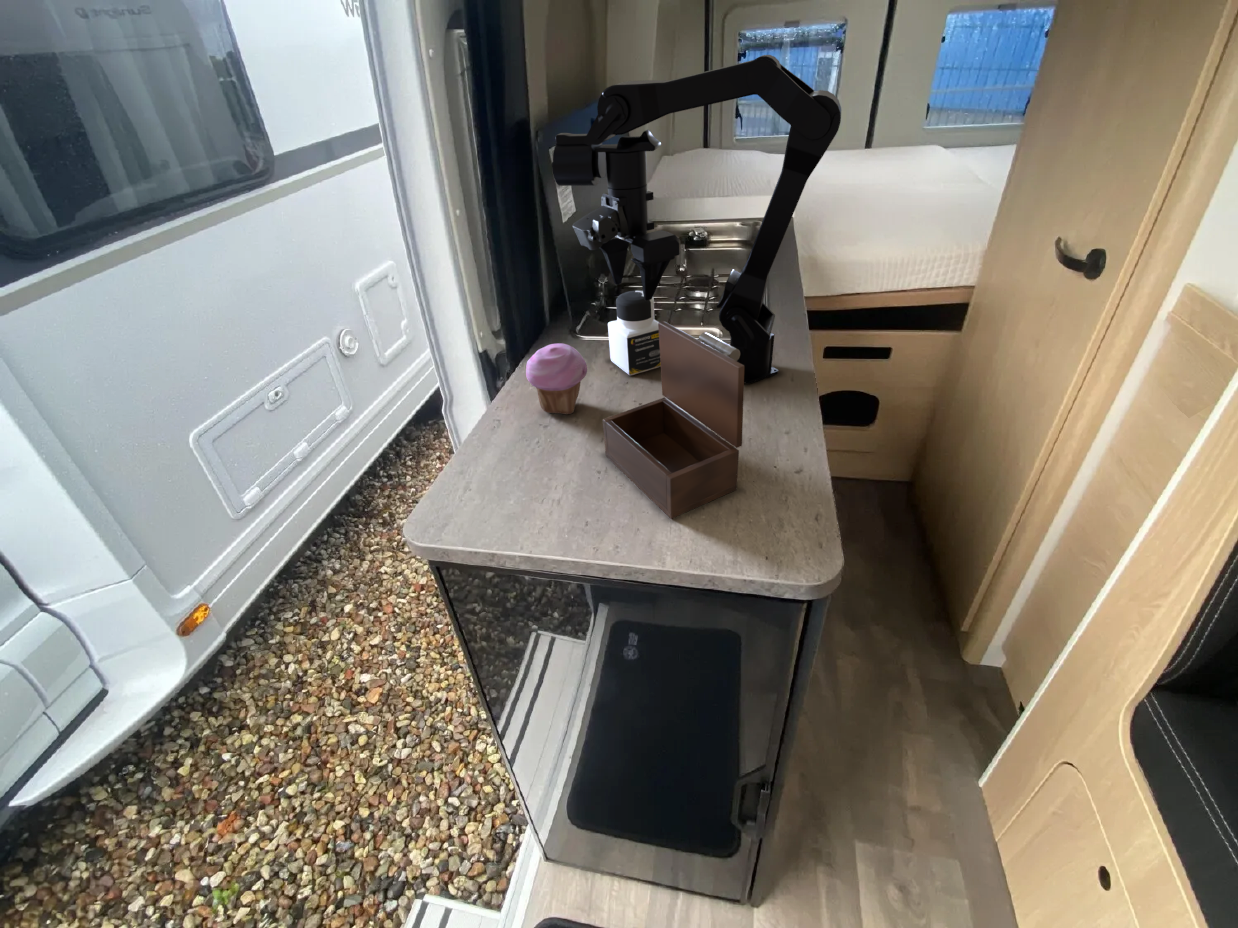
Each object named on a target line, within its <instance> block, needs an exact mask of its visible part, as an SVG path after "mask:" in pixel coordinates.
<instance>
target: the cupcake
mask: <svg viewBox="0 0 1238 928" xmlns="http://www.w3.org/2000/svg"><path fill="white" fill-rule="evenodd" d="M525 366H526V367H525V376H526V379H527V381H528V382H529V384H531V386H532V387H534V388H535V389H536V392H537V397H538V401H539V402H538V403H539V405H540V408H541V410H543V412H545V413H549V414H563V415H572V414H573V413H574V412H575V407H576V403H577V400H578V397H579V394H580V389H581V381H582V380H584V378H586V376H587V374H588V366H587V362H586V360H585V359H584V357H583V355H582V354H581V353H580V352H579V351H578V350H577V349H576V348H575V347H573V346H572V345H569V344H567V343H560V342H559V343H551V344H548V345H545V346H544V347H542V348H539V349H538V350H536V351H535V352H534V354H532V355H531V357H530V358H529V359H528V360H527V362H526V365H525Z"/></svg>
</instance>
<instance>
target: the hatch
mask: <svg viewBox="0 0 1238 928" xmlns="http://www.w3.org/2000/svg"><path fill="white" fill-rule="evenodd" d="M658 329H659V346H660V363H661V367H660V376H661V377H660V379H661V394H662V396H663V397H665V398H666V399H667V400H669V401H670V402H672V403H673V404H675V405H676V406H677V407H679V408H680V409H682V410H683V411H684V412H686V413H687V414H688V415H690V416H691V417H693V418H694V419H695V420H697V421H698V422H700V423H701V424H702V425H704V426H705V427H707V428H708V429H709V430H711V431H712V432H714V433H715V434H716V435H718V436H719V437H721V438H722V439H723V440H725V441H726V442H728V443H729V444H730V445H732V446H733V447H734V448H736V449H738V448H740V447H743V425H744V421H743V420H744V419H743V418H744V397H745V396H744V395H745V394H744V393H745V392H744V391H745V383H744V365H742V364H740V363H739V362H737V360H738V359H739V357H740V351H739V350H738V349H736V348H734V347H733V346H731V345H730V343H729V344H728V343H727V342H725V341H724V340H722V339H719V338H718V337H715V336H714V335H712V334H710V333H708V332H702V333H701V334H700V335H699V337H698V338H696V337H694V336H692V335H690V334H688V333H686V332H685V331H683V330H681V329H679V328H678V327H675V325H674V326H673V325H672V324H670V323H668V322H666V321H665V320H661V321H658Z"/></svg>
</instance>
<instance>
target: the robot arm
mask: <svg viewBox="0 0 1238 928" xmlns="http://www.w3.org/2000/svg"><path fill="white" fill-rule="evenodd" d="M755 95H756V96H758V97H759V98H760V99H762V100H763V101H764V102H765V103H766V104H767V105H768V106H769V107H770V108H771V109H772V110H773V111H774V112H775V113H776V114H777V115H778V116H779V117H780V118H781V119H782V120H784V121H785V123H787V124H788V125H790V127H789V132H788V137H787V141H786V146H785V151H784V156H783V163H782V168H781V172H780V174H779V177H778V179H777V182H776V185H775V187H774V190H773V193H772V195H771V198H770V200H769V203H768V206H767V208H766V211H765V213H764V216H763V218H762V221H761V223H760V226H759V229H758V231H757V234H756V237H755V239H754V242H753V244H752V246H751V249H750V252H749V255H748V258H747V259H746V262H745V264H744V266H742V269H741V271H738V270H735V269H734V268H732V269H731V270H730V273H729V274H728V277H727V279H726V282H725V285H724V288H723V291H722V294H721V296H720V298H719V300H718V302H717V305H716V308H717V309H720V310H719V313H718V321H719V322H720V324H721V326H722V327H723V328H724V330H726V331H727V332H728V333H729V336H730V339H729V342H730V343H729V345H731V346H733V347H734V348H736V349H738V350H739V351H740V357H739V359H738V360H737V362H739V363H740V364H742V365H744V384H746V385H750V384H753V383H756V382H758V381H761V380H764V379H766V378H770V377H772V376H775V375H778V374H779V369H778V368H775V367H774V366H773V355H774V344H775V333H773V332H772V331H773V326H774V322H775V318H776V314H775V312H773V311H772V310H771V309H770V307H768V305H767V304H766V303H764V297H765V294H766V289H767V283H768V278H769V274H770V271H771V269H772V267H773V264H774V261H775V259H776V257H777V254H778V252H779V249H780V247H781V244H782V242H783V239H784V237H785V235H786V233H787V230H788V228H789V225H790V223H791V220H792V218H793V217H794V214H795V211H796V209H797V206H798V205H799V204H798V203H799V201H800V199H801V196H802V194H803V192H804V189H805V187H806V185H807V182H808V180H809V178H810V177H811V175H812V174H813V172H814V170H815V169H816V168H817V166H818V164H819V163H820V162H821V160H822V158H823V157H824V155H825V154H826V152H827V150H828V148H829V147H830V145H831V144H832V142H833V140H834V139H835V137H836V136H837V134H838V132H839V128H840V126H841V119H842V106H841V103H840V100H839V98H837V96H836V95H835V93H832V92H831V91H829V90H823V89H819V90H814V88H812V87H811V86H810V85H809V84H807V83H806V82H805V81H804V80H802V79H801V78H800V77H799V76H797V75H795V74H794V73H793V72H791V71H790V69H787V68H786V67H785V66H783V64H782V63H781V62H780V60H779V59H778V58H777V57H776V56H775V55H772V54H762V55H760V56H758V57H756V58H754V59H751V60H748V61H743V62H740V63H735V64H730V65H727V66H722V67H718V68H715V69H711V70H707V71H702V72H699V73H695V74H691V75H686V76H682V77H678V78H674V79H667V80H656V79H655V80H654V79H652V80H651V79H650V80H649V79H645V80H626V81H623V82H619V83H615V84H612V85H610V86H608V87H606V88H605V89H604V90H602V91H601V93H600V96H599V98H598V102H597V107H596V109H597V115H596V117H595V118H594V121H593V122H592V125H591V126H590V128H589V129H588V132H587V133H570V132H560V133H558V134H556V135H555V136H554V137H555V138H554V139H555V145H554V149H553V153H552V162H551V171H552V175H553V179H554V182H555V183H556V185H558V187H571V186H573V187H574V186H575V187H576V186H577V187H579V186H581V187H582V186H585V187H586V186H591V187H593V186H596V187H597V186H598V184H599V183H600V181H601V179H604V178H605V176H606V183H607V186H606V187H607V192H604V193H602V196H601V198H600V202H601V203H600V204H601V205H600V206H599V207H598V208H596V209H593V210H591V211H590V212H589V213H586V214H585V215H584V216H582V217H581V218H579V219H578V220H576V221H574V222H573V224H572V229H573V230H574V233H575V235H576V237H577V239H578V242H579V244H580V246H582V247H586V248H588V250H590V251H596V250H598V249H599V250H600V251H602V253H603V256H604V259H605V261H606V264H607V267H608V270H609V272H610V275H611V277H612V278H611V279H612V281H613V284H614V285H616V286H618V285H621V284H622V283H623V280H624V279H623V278H624V274H625V268H626V262H627V258H628V257H627V256H628V250H629V245H630V252H631V254H632V256H633V258H631V261H632V263H633V264H635V265H636V266H637V267H638V268H639V272H640V274H639V275H640V280H641V288H642V291H643V294H644V299H645V300H646V301H647V300H651V299H652V297H654V295H655V292H656V291H657V288H658V286H659V283H660V281H661V279H662V277H663V275H664V274H665V271H666V269H667V267H668V266H669V264H670V262H671V260H672V261H673V260H674V259H675V258H676V257H677V256H680V255H681V239H680V238H679V237H678V236H677V235H676V234H674V233H671V232H668V231H666V230H663V229H660V230H656V231H652V230H655V221H652V220H650V219H649V201H653V200H654V191H651V190H648V168H647V167H648V165H647V152H654V151H656V150H658V149H659V148H660V147H661V146H662V143H661V141H660V140H658V139H657V138H656V137H655V136H654V135H653V134H652V132H651V129H646V130H644V131H642V133H641V134H640V136H633V135H632V136H623V135H626V134H628V133H630V132H631V131H634V130H637V129H639V128H641V127H644V126H645V125H647V124H650V123H652V122H654V121H656V120H658V119H661V118H663V117H665V116H668V115H671V114H675V113H679V112H683V111H687V110H692V109H696V108H701V107H705V106H710V105H715V104H719V103H723V102H727V101H731V100H736V99H741V98H745V97H750V96H755ZM621 135H622V136H621ZM616 136H621V137H619V139H618V142H617V143H615V144H608V143H607V144H603V143H605V142H607V141H608V140H610V139H612V138H614V137H616ZM648 231H651V232H648Z"/></svg>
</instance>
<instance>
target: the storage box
mask: <svg viewBox="0 0 1238 928" xmlns="http://www.w3.org/2000/svg"><path fill="white" fill-rule="evenodd" d="M602 429H603V441H604V451H605V457H606V458H607V459H608V460H609V461H610V462H612V464H614V466H616V467H617V469H619V471H621V472H622V473H623V474H624V475H625V476H626V477H627V478H628V479H629V480H630V481H631V482H632V483H633V484H634V485H635V486H637V488H638V489H640V490H641V492H642V493H644V494H645V495H646V496H647V498H649V499H650V500H651V501H652V502H653V503H654V504H655V505H656V506H657V507H658V508H659V509H660V510H662V512H663V513H665V515H666V516H667V517H668V518H670V519H674V518H677V517H679V516H681V515H683V514H685V513H687V512H690V511H692V510H695V509H697V508H699V507H701V506H703V505H705V504H708V503H710V502H712V501H714V500H717V499H719V498H722V497H724V496H726V495H728V494H730V493H732V492H736V491H737V489H738V473H739V457H740V450H739V449H738V448H736V447H735V446H733V445H732V444H730V443H729V442H728V441H726V440H725V439H723V438H722V437H721V436H719V435H718V434H716V433H715V432H714V431H712V430H711V429H709V428H708V427H707V426H705V425H704V424H702V423H701V422H700V421H698V420H697V419H695V418H694V417H693V416H691V415H690V414H688V413H687V412H686V411H684V410H683V409H681V408H680V407H679V406H677V405H676V404H674V403H673V402H672V401H670V400H669V399H667V398H666V397H665V396H663V397H662V398H659V399H656V400H653V401H650V402H647V403H644V404H642V405H639V406H635V407H633V408H629V409H627V410H624V411H622V412H619V413H616V414H614V415H613V414H612V415H610V416H608V417H605V418H602Z"/></svg>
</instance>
